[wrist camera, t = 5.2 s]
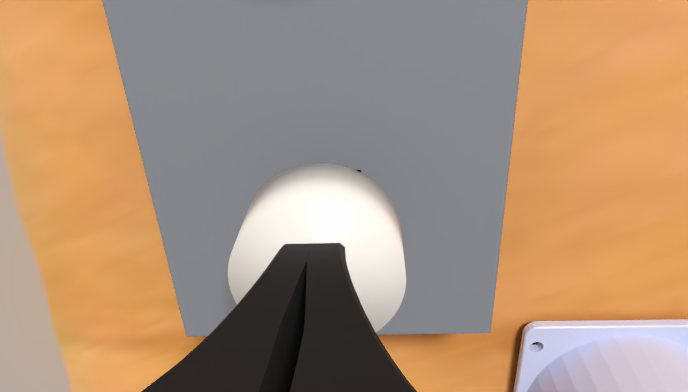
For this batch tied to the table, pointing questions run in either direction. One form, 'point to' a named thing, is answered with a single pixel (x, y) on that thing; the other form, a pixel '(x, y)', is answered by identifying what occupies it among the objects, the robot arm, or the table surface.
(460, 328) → the knob mount
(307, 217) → the cream knob
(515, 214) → the table surface
